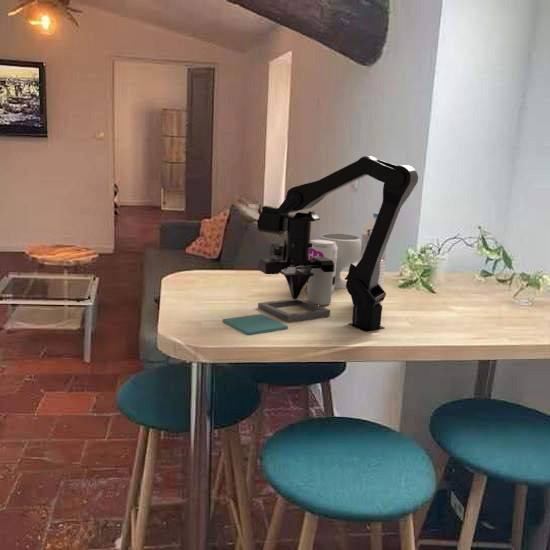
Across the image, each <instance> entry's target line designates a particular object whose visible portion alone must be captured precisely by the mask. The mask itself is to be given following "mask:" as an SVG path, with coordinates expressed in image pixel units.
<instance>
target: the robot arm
mask: <svg viewBox="0 0 550 550" xmlns="http://www.w3.org/2000/svg"><path fill="white" fill-rule="evenodd" d="M366 176H368V177H371V178H373V179H375V180H377V181H379V182H382V183H383V187H382V203H381V205H380V208H379V210H378V212H377V213H378V216H377V219H376V222H375V224H374V227H373V230H372V232H371V235H370V238H369V240H368V243H367V246H366V248H365V251H364V254H363V257H362V259H361V260H360V259H359V260H358V261H356V262H354V263H352V264H350V265H349V266H348V268H349V269H348V274H347V275H346V277H345V278H344V280H346V281H347V282H346V288H345V289H346V291H347V292H348V294H349V295H350V297H351V301H352V304H353V308H352V309H353V310H352V319H351V320H352V321H351V322H350V323H347V325H348V326H350V327H353V328H355V329H357V330H360V331H362V332H373V331H377V330H378V331H379V330H384V329H386V328H385V327H384V326H383V325H381V323H382V313H383V304H381V305H380V302H381V301H382V302H383V301H384V300H385V298H386V296H387V292H386V291H385V290H384V289H382V288H381V286H380V285H379V284H378V280H379V275H380V261H381V258H382V255H383V253H384V250H385V248H386V249H387V247H386V245H387V244H388V241H389V239H390V236H391V234H392V231H393V230H394V229H393V228H395V227H394V226H395V224H396V221H397V220H398V219H397V218H398V216H399V213H400V211H401V207H403V205H404V203H406V201H407V200H408V199H409V197H410V195H411V194H412V192H413V190H414V189H415V188H416V186H417V183H418V181H419V175H418V172H417V170H416V168H414V167H412V166H411V165H407V164H406V165H405V164H403V165H402V164H401V165H397V164H392V163H390V162H387V161H385V160H381V159H379V158H376V157H375V156H370V155H369V156H368V155H367V156H366V155H365V156H362V157H360V158H359V159H358V160H356V161H354V162H352V163H351V164H347V165H346V166H344V167H341V168H340V169H338V170H336V171H334V172H332V173H330V174H328V175H326V176H324V177H322V178H320V179H318V180H314V181H312V182H308V183H303V184H300V185H296V186H292V187H291V188H289V189H288V190H287V191H286V195H285V199H284V200H283V201H282V202H281V204H280V206H279V207H274V206H271V205H264V206H262V208H261V209H262V210H261V212H260V213H259V216H258V219H257V220H256V221H257V223H256V226H257V227H256V228H257V230H258V232H259V233H262V234H268V235H269V234H270V235H274V236H275V235H278V236H283V235H284V234H285V232H286V239H284V242H283V246H282V245H280V243H271V244H270V245H269V255H270V257H271V258H260V259H259V261H258V262H257V271H260V272H261V273H263V274H265V275H278V274H281V275H283V276H284V277H285V279H286V281H287V285H288V289H289V292H290V295H291V299H297V298H299V296H300V294H301V292H302V290H303V289H304V287H305V286H306V282H307V281H308V279H309V278H310V276H314V274H313V273H311V270H312V268H321V270H322V271H323V272H334V267H335V265H334V262H333V261H332V260H330V259H328V258H325V257H313V258H312V259H311V260H310V259H309V248H312V243H310V242H311V232H312V231H311V230H312V222H318V221H320V220H321V218H320V217H319V216H318V214H316V211H315V210H310V211H308V212H301V211H303V210H309V209H311V208H313V207H314V206H315V205H317V204H319V203H320V202H321V201H322V200H323V199H324V198H325V197H326V196H328V195H330V194H331V193H334V191H335V192H336V191H337V190H339V189H341V188H344V187H345V186H348V185H350V184H352V183H354V182H356V181H358V180H361V179H362V178H364V177H366ZM295 212H296V213H295ZM291 213H295V214H293V215H292V214H291ZM387 246H388V245H387ZM273 257H275V258H273ZM382 302H381V303H382Z"/></svg>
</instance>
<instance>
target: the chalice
mask: <svg viewBox="0 0 550 550" xmlns="http://www.w3.org/2000/svg"><path fill="white" fill-rule="evenodd" d="M318 239H323V240H331V241H335V242H336V246H337V248H338V249H337V261H336V274H335V286H334V289H346V282H347V280H345V279H342V278H341V273H342V271H343V270H345V268H347V267H350V264H352V263H354V262H356V261H359V260H360V255H361V244H362V239H361V238H360V237H358V236H357V235H352V234H347V233H346V234H345V233H322V234H320V236H319V238H318Z"/></svg>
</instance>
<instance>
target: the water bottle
mask: <svg viewBox="0 0 550 550" xmlns="http://www.w3.org/2000/svg"><path fill="white" fill-rule="evenodd" d="M378 213H379V212H373V215H372V217H373V218H371V219H369V220H368V221H367V222H366V223H364V225H363V227H362V228H361V229H362V231H361V234H362V235H361V243H362V244H361V255H360V259H359V260H361V259H362V257H363V254H364V251H365V248H366V246H367V243H368V240H369V238H370V235H371V232H372V230H373V227H374V224H375V222H376V219H377V216H378ZM387 246H388V245H386V248H385V250H384V253H383V255H382V258H381V261H380V275H379V280H378V284H379V285H380V286H381V288H382V289H383V288H384V281H385V280H384V279H385V272H386V270H385V268H386V261H387V260H386V259H387V258H386V256H387ZM383 290H384V289H383ZM382 302H383V301H381V302H380V305H382Z"/></svg>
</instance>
